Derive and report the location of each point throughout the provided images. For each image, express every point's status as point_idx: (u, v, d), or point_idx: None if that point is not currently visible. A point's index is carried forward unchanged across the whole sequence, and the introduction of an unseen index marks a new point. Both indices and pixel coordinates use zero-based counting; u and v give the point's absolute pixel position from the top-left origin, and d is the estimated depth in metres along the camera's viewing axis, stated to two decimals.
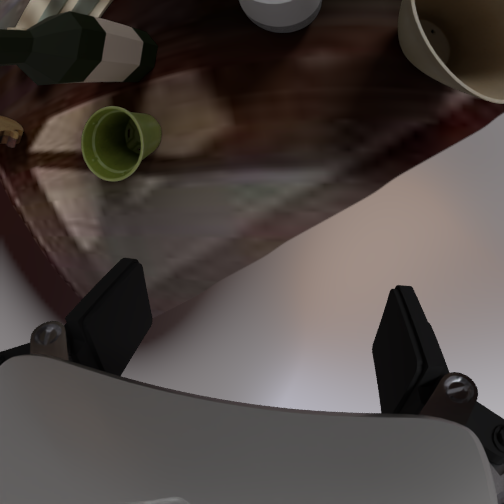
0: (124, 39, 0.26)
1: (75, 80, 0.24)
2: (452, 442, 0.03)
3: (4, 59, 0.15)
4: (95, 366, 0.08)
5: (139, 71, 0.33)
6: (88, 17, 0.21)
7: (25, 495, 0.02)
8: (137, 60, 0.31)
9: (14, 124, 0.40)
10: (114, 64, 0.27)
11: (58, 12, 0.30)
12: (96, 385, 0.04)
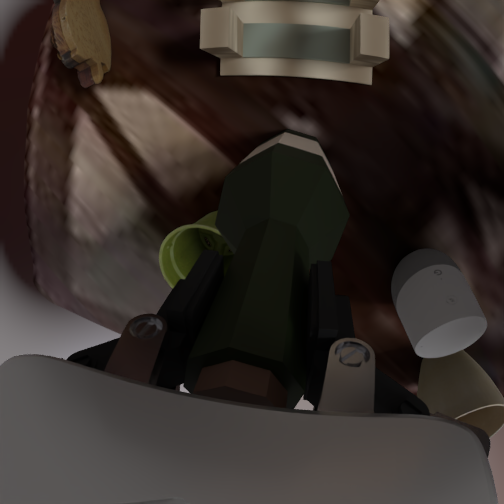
0: None
1: None
2: (452, 442, 0.03)
3: None
4: None
5: None
6: None
7: (25, 495, 0.02)
8: None
9: (106, 45, 0.28)
10: None
11: None
12: (96, 385, 0.04)
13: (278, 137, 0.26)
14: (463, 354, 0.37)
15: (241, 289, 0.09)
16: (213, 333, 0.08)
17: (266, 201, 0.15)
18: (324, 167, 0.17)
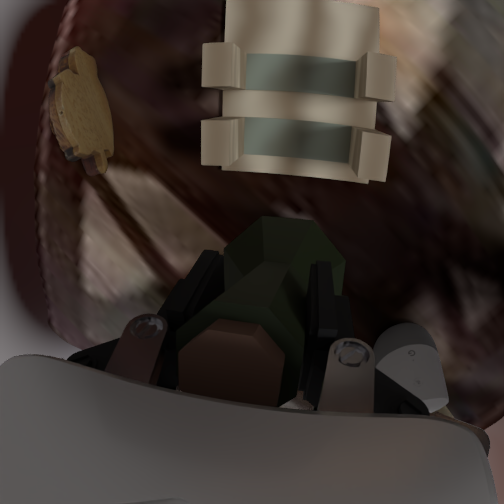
0: None
1: None
2: (452, 442, 0.03)
3: None
4: None
5: None
6: None
7: (25, 495, 0.02)
8: None
9: (107, 126, 0.32)
10: None
11: (293, 90, 0.28)
12: (96, 385, 0.04)
13: None
14: None
15: None
16: None
17: (260, 250, 0.16)
18: (311, 220, 0.19)
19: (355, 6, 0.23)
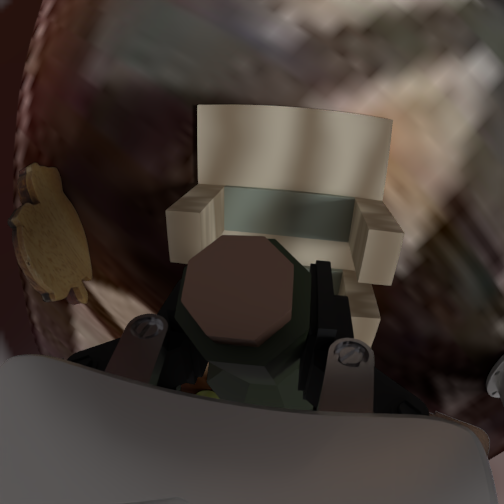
0: None
1: None
2: (452, 442, 0.03)
3: (254, 380, 0.11)
4: (190, 358, 0.09)
5: None
6: None
7: (25, 495, 0.02)
8: None
9: (81, 249, 0.31)
10: None
11: None
12: (96, 385, 0.04)
13: None
14: None
15: None
16: None
17: None
18: None
19: (362, 119, 0.22)
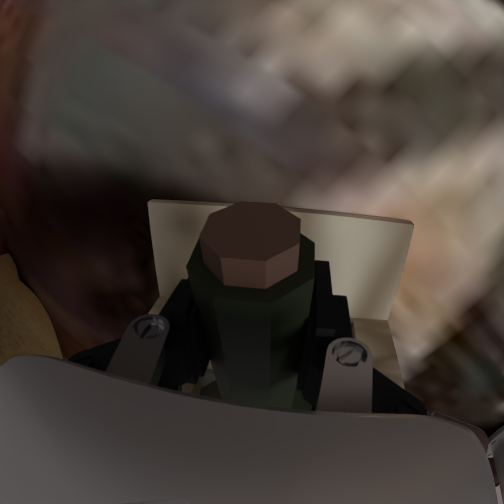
0: None
1: None
2: (452, 442, 0.03)
3: (247, 400, 0.10)
4: (191, 358, 0.09)
5: None
6: None
7: (25, 495, 0.02)
8: None
9: (48, 339, 0.26)
10: None
11: None
12: (96, 385, 0.04)
13: None
14: None
15: None
16: None
17: None
18: None
19: (373, 225, 0.17)
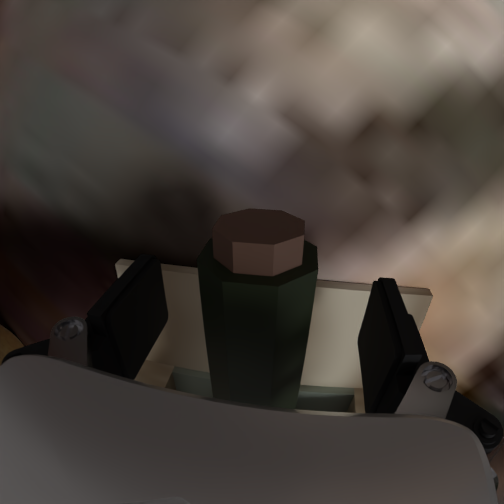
0: None
1: None
2: (452, 442, 0.03)
3: None
4: (116, 361, 0.09)
5: None
6: None
7: (25, 495, 0.02)
8: None
9: None
10: None
11: None
12: (96, 385, 0.04)
13: None
14: None
15: None
16: None
17: None
18: None
19: None
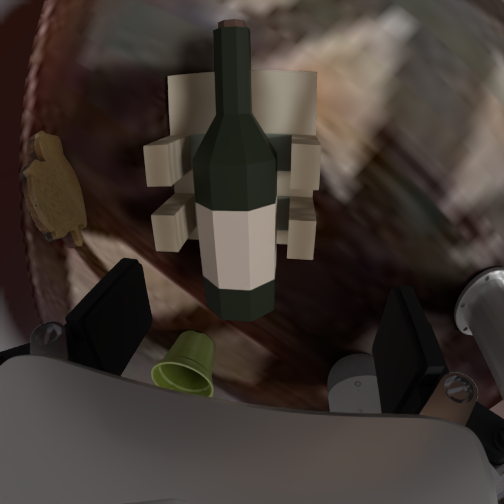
0: (272, 241, 0.30)
1: (214, 193, 0.27)
2: (452, 442, 0.03)
3: (228, 84, 0.24)
4: (95, 366, 0.08)
5: (239, 302, 0.32)
6: (276, 181, 0.30)
7: (25, 495, 0.02)
8: (254, 282, 0.31)
9: (78, 201, 0.37)
10: (244, 241, 0.29)
11: None
12: (96, 385, 0.04)
13: None
14: None
15: None
16: None
17: None
18: None
19: (292, 73, 0.28)
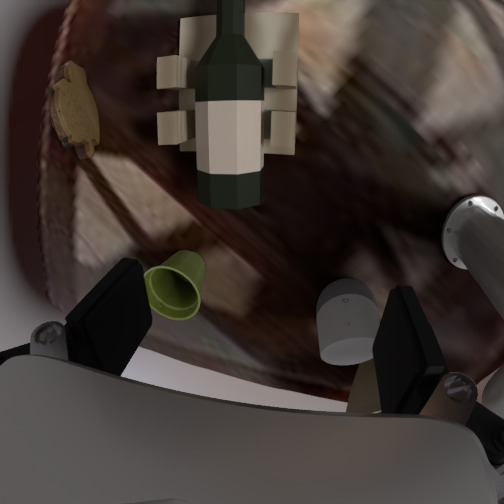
0: (258, 133, 0.33)
1: (210, 87, 0.30)
2: (452, 442, 0.03)
3: (226, 13, 0.27)
4: (95, 366, 0.08)
5: (227, 187, 0.35)
6: (263, 89, 0.33)
7: (25, 495, 0.02)
8: (241, 167, 0.34)
9: (94, 121, 0.40)
10: (233, 126, 0.32)
11: None
12: (96, 385, 0.04)
13: None
14: None
15: None
16: None
17: None
18: None
19: (278, 14, 0.31)
